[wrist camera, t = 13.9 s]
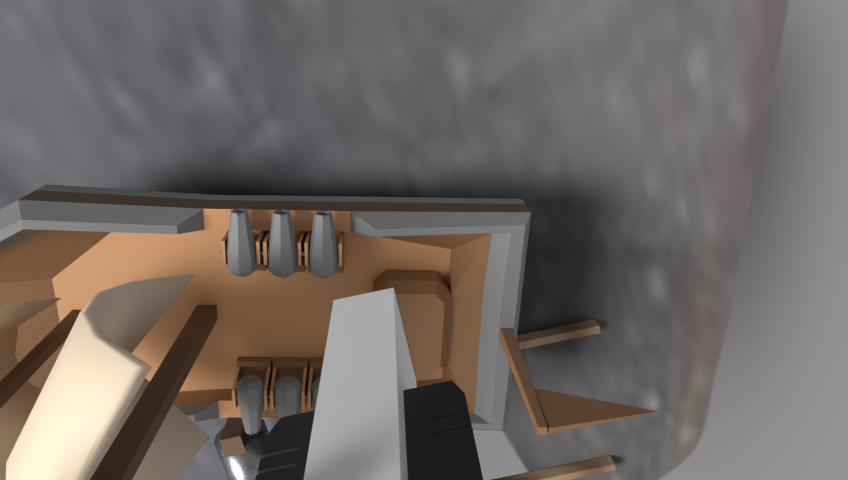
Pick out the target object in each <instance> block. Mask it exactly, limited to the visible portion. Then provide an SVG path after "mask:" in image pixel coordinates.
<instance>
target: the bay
mask: <svg viewBox="0 0 848 480" xmlns="http://www.w3.org/2000/svg"><path fill="white" fill-rule="evenodd" d="M598 333H600V327H599V325H598V323H597V322H596V320H595V319H593V320H588V321H583V322H578V323H573V324H569V325H564V326H559V327H554V328H549V329H545V330H540V331H535V332H530V333H525V334H521V335H517V342H518V345H519V348H520V350H521V349H526V348H531V347H536V346H541V345H545V344H550V343H555V342H560V341H565V340H569V339H574V338H579V337H584V336H589V335H594V334H598ZM614 470H615V464H614V462H613V460H612V458H611V456H605V457H600V458H595V459H590V460H585V461H581V462H576V463H571V464H566V465H561V466H556V467H551V468H546V469H541V470H537V471H532V472H527V473H522V474H517V475H512V476H508V477H502V478H498V479H493V480H570V479H575V478H580V477H585V476H590V475H595V474H599V473H604V472H609V471H614Z"/></svg>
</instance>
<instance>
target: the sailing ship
mask: <svg viewBox="0 0 848 480" xmlns="http://www.w3.org/2000/svg"><path fill="white" fill-rule="evenodd" d="M530 219H531V211H530V210H529V208H528V207H527V206H526V204H525V203H524V201H523V200H522V199H495V198H427V197H358V196H271V195H209V194H192V193H176V192H159V191H143V190H126V189H110V188H93V187H77V186H60V185H45V186H43V187H41V188H39V189H37V190H36V191H34V192H32V193H30V194H28V195H26V196H24V197H23V198H21V199H19V200H17V201H15V202H13V203H12V204H10V205H8V206H6V207H4V208H3V209H1V210H0V480H174V479H175V477H176V476H177V475H178V474H179V473H180V472H181V470H182V469H183V468H184V467H185V466H186V465H187V463H188V462H189V461H190V460H191V459H192V457H193V456H194V455H195V454H196V453H197V452H198V450H199V449H200V448H201V447H202V446H203V445H204V443H205V442H206V441H207V440H208V439H209V437H208V436H207V435H206V434H205V433H204V432H203V431H202V430H201V429H200V428H199V427H198V426H196V425H195V424H194V423H193V422H196V421H202V420H208V419H215V418H233V417H242V421H243V425H244V429H245V432H246V433H247V434H250V436H251V435H252V434H256V433H258V431H259V430H260V427H261V419H262V417H279V420H280V418H281V417H285V416H290V415H295V414H300V413H305V412H309V411H314V410H315V408H316V402H317V396H318V390H319V384H320V378H321V372H322V366H323V360H324V354H325V348H326V342H327V336H328V330H329V325H330V319H331V313H332V307H333V301H334V300H337V299H342V298H346V297H351V296H356V295H361V294H366V293H370V292H375V291H380V290H385V289H389V288H394V291H395V296H396V300H397V304H398V308H399V312H400V316H401V320H402V324H403V329H404V333H405V337H406V341H407V345H408V349H409V353H410V357H411V361H412V366H413V370H414V374H415V378H416V385H417V387H421V386H426V385H431V384H436V383H441V382H445V381H450V380H452V381H453V382H454V383H455V384H456V385H457V386H458V387H459V388H460V389H461V390H462V391H463V392H464V393H465V396H466V401H467V406H468V411H469V415H470V420H471V425H472V429H478V430H496V431H506V426H507V417H508V409H509V400H510V392H511V383H512V374H513V375H514V377H515V380H516V382H517V385H518V387H519V390H520V392H521V395H522V397H523V400H524V402H525V405H526V408H527V410H528V413H529V415H530V418H531V420H532V423H533V425H534V428H535V430H536V433H537V435H547V431H548V434H553V433H558V432H562V431H567V430H572V429H577V428H582V427H586V426H591V425H596V424H601V423H606V422H610V421H615V420H620V419H625V418H630V417H635V416H639V415H644V414H649V413H654V412H657V411H652V410H647V409H642V408H636V407H631V406H626V405H620V404H615V403H610V402H605V401H599V400H594V399H589V398H583V397H578V396H573V395H568V394H562V393H557V392H552V391H546V390H541V389H536V388H534V387H533V385H532V382H531V379H530V376H529V373H528V370H527V368H526V365H525V362H524V359H523V356H522V353H521V350H520V348H519V345H518V342H517V331H518V323H519V314H520V305H521V297H522V288H523V280H524V271H525V262H526V254H527V245H528V237H529V228H530Z"/></svg>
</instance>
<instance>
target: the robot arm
mask: <svg viewBox="0 0 848 480" xmlns="http://www.w3.org/2000/svg"><path fill="white" fill-rule="evenodd" d="M257 472H258V475H256V478H255V480H483V477H482V472H481V468H480V463H479V458H478V453H477V449H476V444H475V439H474V434H473V430H472V425H471V420H470V415H469V411H468V406H467V401H466V396H465V393H464V392H463V391H462V390H461V389H460V388H459V387H458V386H457V385H456V384H455V383H454V382H453V381H452V380H450V381H445V382H441V383H436V384H431V385H426V386H421V387H417V385H416V378H415V374H414V370H413V366H412V361H411V357H410V353H409V349H408V345H407V341H406V337H405V333H404V329H403V324H402V320H401V316H400V312H399V308H398V304H397V300H396V296H395V291H394V288H389V289H385V290H380V291H375V292H370V293H366V294H361V295H356V296H351V297H346V298H342V299H337V300H334V301H333V307H332V313H331V319H330V325H329V330H328V336H327V342H326V348H325V354H324V360H323V366H322V372H321V378H320V384H319V390H318V396H317V402H316V408H315V410H314V411H309V412H305V413H300V414H295V415H290V416H285V417H281V418H280V420H279V421H278V422H277V424H276V425H275V426H274V427H273V429H272V430H271V431H270V433H269V434H268V435H267V437H266V441H265V445H264V448H263V452H262V459H261V460H260V463H259V467H258V471H257Z"/></svg>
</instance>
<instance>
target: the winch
mask: <svg viewBox="0 0 848 480" xmlns="http://www.w3.org/2000/svg"><path fill="white" fill-rule="evenodd" d="M268 434H269V433H268V430H267V427H266V424H265V422H264V420H263V419H261V427H260V430H259V431H258V433H256V434H252V435H251V436H250V434H247V433H246V432H245V429H244V425H243V421H242V417H233V418H228V419H227V421H226V424H225V427H223V428H222V429H221V430H220V431H219V432H218V434H217V435H216V437H215V440H214V444H215V447H216V449H217V452H218V454H219V457H220V459H221V462H222V464H223V467H224V469H225V472H226V474H227V477H228V479H229V480H255V478H256V475H258V472H257V471H258V467H259V463H260V460H261V459H262V452H263V448H264V445H265V441H266V437H267V435H268Z"/></svg>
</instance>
